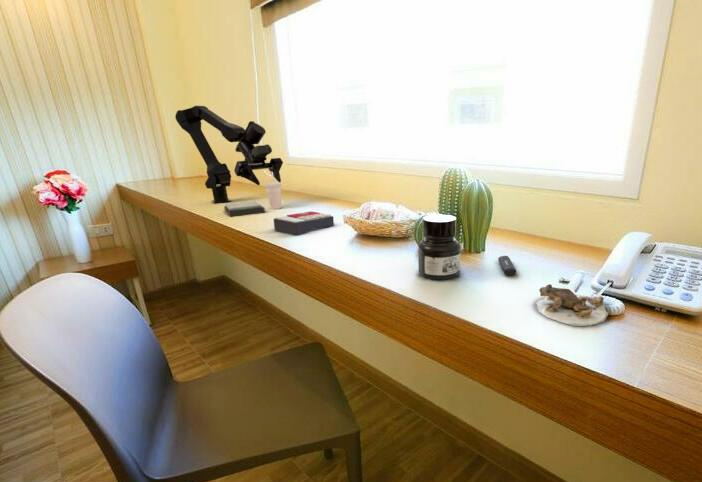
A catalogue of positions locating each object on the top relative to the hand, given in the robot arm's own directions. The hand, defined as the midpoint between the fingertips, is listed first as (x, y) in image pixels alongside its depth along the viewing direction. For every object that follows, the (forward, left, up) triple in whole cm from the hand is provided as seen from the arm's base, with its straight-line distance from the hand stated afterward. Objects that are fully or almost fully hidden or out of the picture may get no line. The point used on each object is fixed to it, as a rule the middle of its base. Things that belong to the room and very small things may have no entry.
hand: (269, 183), depth 153 cm
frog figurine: (+125, +19, -10) cm, 127 cm away
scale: (+2, -11, -10) cm, 15 cm away
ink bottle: (+98, +11, -10) cm, 99 cm away
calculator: (+41, 0, -10) cm, 42 cm away
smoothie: (+2, +1, -10) cm, 10 cm away
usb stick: (+104, +25, -10) cm, 107 cm away
